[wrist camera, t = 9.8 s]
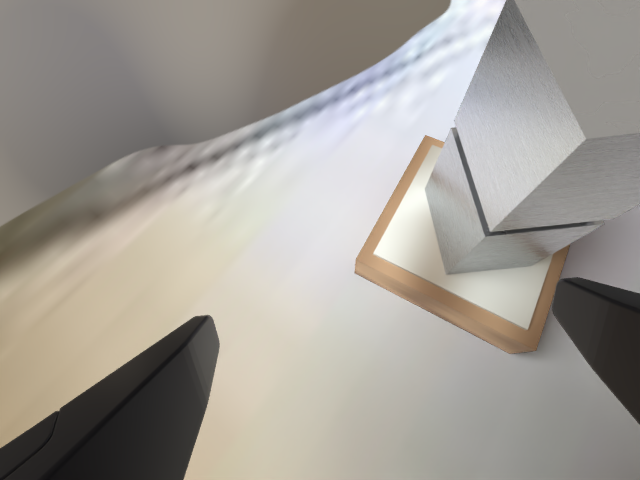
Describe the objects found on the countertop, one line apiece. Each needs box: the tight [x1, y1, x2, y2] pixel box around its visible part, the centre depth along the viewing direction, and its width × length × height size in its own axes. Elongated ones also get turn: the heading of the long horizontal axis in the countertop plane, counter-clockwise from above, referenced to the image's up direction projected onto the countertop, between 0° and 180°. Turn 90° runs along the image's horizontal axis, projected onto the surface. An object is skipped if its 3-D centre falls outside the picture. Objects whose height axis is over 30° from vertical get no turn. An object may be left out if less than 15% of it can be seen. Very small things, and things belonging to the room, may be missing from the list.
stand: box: [355, 135, 570, 354], centre depth 21 cm, size 11×11×3 cm
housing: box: [425, 0, 640, 275], centre depth 14 cm, size 6×5×12 cm
